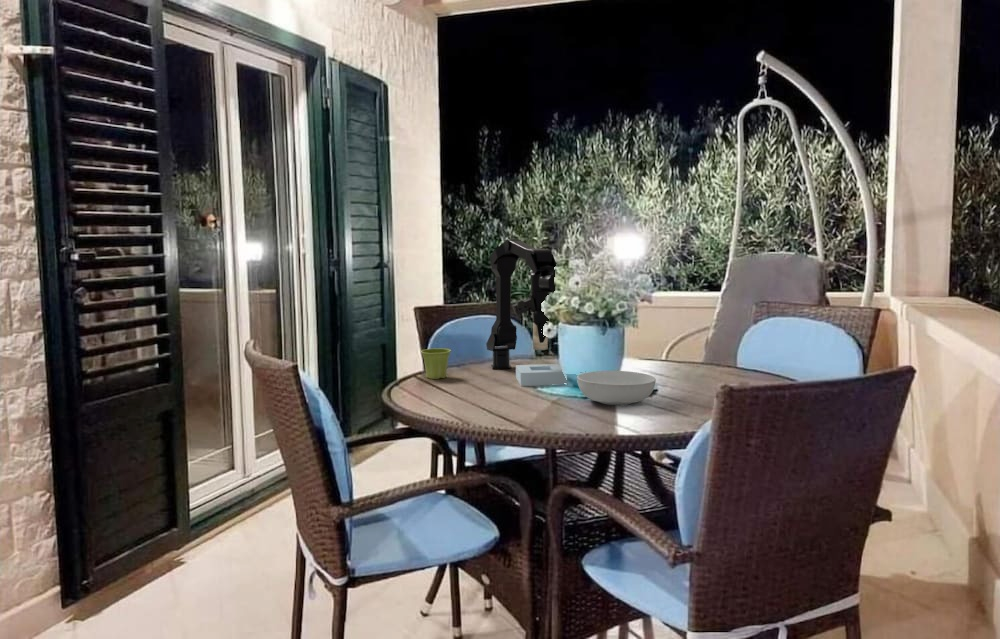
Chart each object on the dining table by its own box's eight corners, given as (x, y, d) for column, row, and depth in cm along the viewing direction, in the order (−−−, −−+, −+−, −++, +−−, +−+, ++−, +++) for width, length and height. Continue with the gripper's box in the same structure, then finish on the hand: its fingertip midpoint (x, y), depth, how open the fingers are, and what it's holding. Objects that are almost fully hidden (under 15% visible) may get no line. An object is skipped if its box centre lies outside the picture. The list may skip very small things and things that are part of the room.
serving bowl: (637, 414, 200) (637, 387, 200) (563, 405, 211) (563, 379, 211) (666, 398, 218) (667, 374, 217) (597, 391, 229) (597, 367, 228)
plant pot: (447, 380, 248) (446, 353, 247) (418, 379, 249) (417, 352, 248) (454, 375, 257) (453, 348, 256) (425, 374, 259) (425, 348, 258)
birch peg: (532, 348, 246) (532, 322, 245) (546, 347, 246) (546, 322, 245) (534, 350, 242) (534, 323, 241) (548, 349, 242) (548, 323, 241)
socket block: (515, 377, 251) (515, 365, 251) (559, 376, 252) (559, 364, 252) (520, 386, 237) (520, 372, 237) (567, 384, 239) (567, 371, 238)
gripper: (510, 289, 250) (511, 338, 252) (517, 293, 232) (517, 346, 234) (545, 288, 251) (546, 337, 253) (554, 292, 233) (555, 345, 235)
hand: (540, 341), depth 244 cm, fingers closed on birch peg, 4 cm apart
